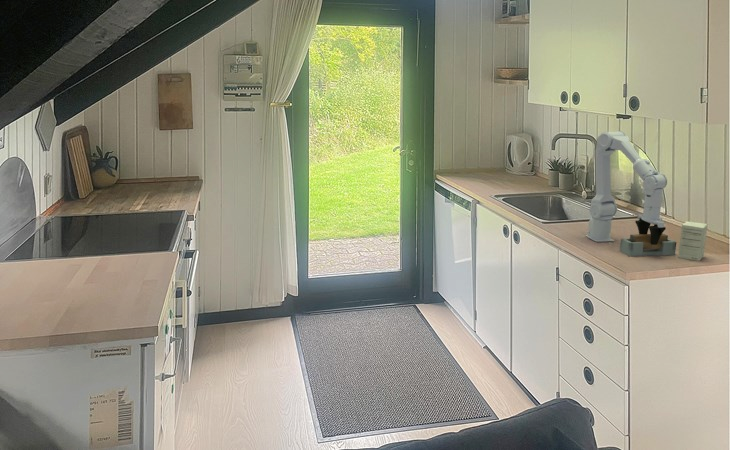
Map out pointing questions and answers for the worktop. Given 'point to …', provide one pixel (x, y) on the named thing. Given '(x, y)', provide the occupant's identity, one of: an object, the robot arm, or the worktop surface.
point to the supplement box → (692, 240)
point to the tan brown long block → (648, 240)
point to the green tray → (637, 249)
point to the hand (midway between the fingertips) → (648, 241)
